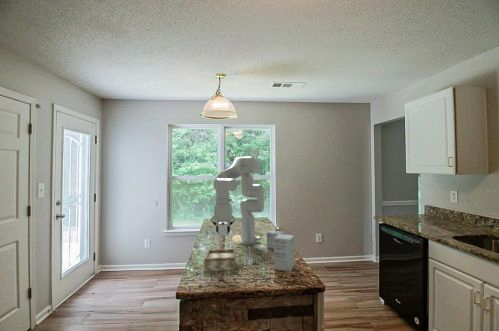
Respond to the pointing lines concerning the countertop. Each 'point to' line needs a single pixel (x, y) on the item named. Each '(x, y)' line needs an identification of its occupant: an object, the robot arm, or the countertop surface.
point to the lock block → (222, 229)
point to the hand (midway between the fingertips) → (223, 232)
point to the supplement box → (284, 252)
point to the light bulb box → (272, 238)
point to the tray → (220, 260)
